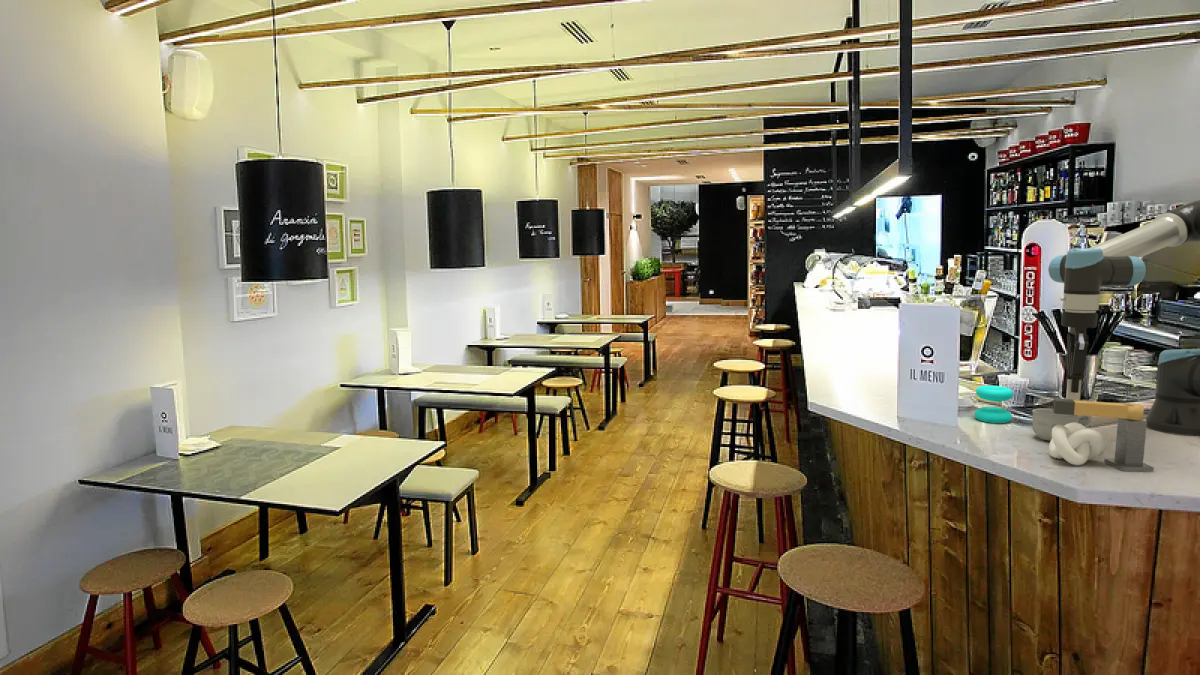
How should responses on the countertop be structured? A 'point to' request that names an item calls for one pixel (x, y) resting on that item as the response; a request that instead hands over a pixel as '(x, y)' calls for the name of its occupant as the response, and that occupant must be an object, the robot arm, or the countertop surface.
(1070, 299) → the robot arm
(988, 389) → the donuts
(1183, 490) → the countertop surface
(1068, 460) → the white knot
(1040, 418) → the teacup
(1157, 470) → the countertop surface
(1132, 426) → the post
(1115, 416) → the bar
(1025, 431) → the countertop surface
